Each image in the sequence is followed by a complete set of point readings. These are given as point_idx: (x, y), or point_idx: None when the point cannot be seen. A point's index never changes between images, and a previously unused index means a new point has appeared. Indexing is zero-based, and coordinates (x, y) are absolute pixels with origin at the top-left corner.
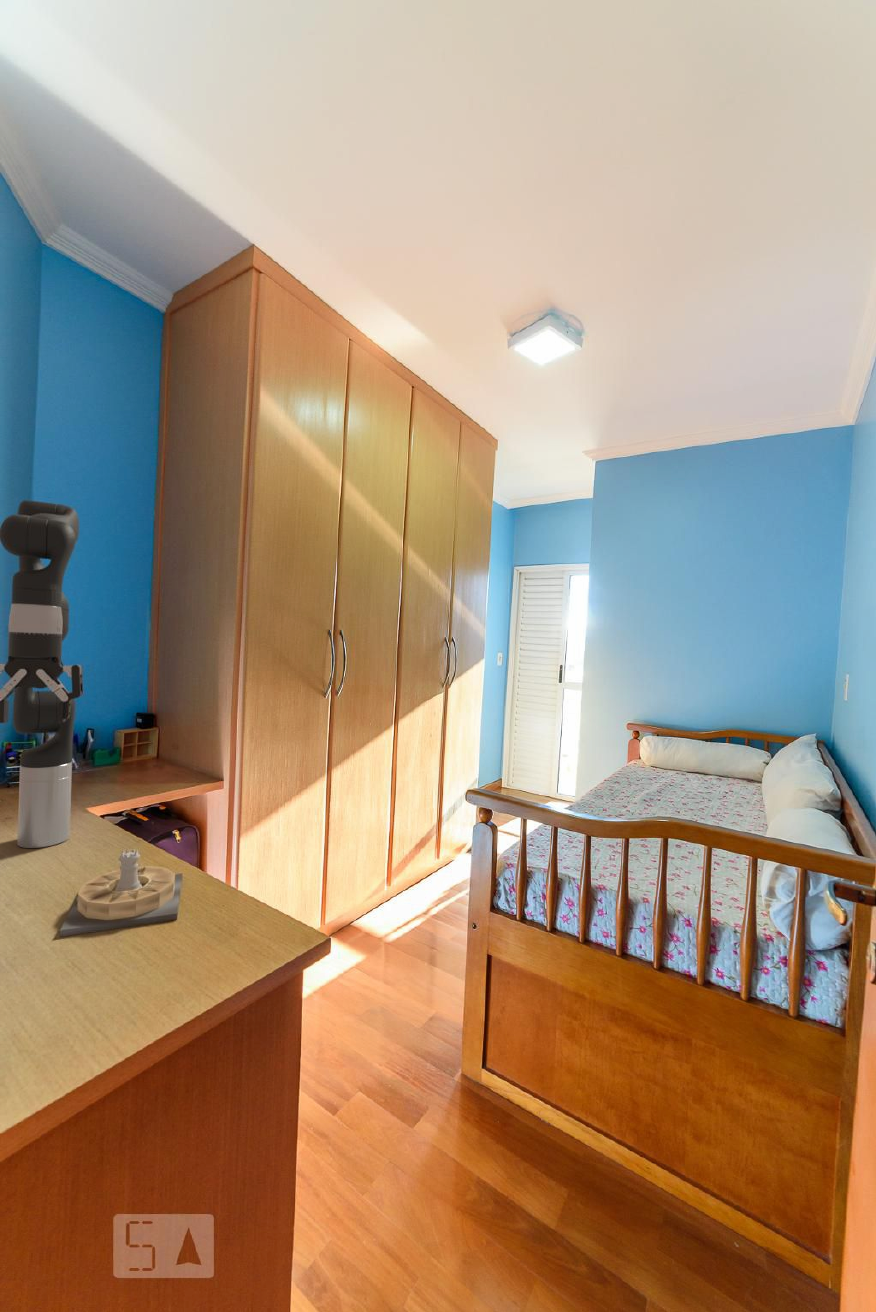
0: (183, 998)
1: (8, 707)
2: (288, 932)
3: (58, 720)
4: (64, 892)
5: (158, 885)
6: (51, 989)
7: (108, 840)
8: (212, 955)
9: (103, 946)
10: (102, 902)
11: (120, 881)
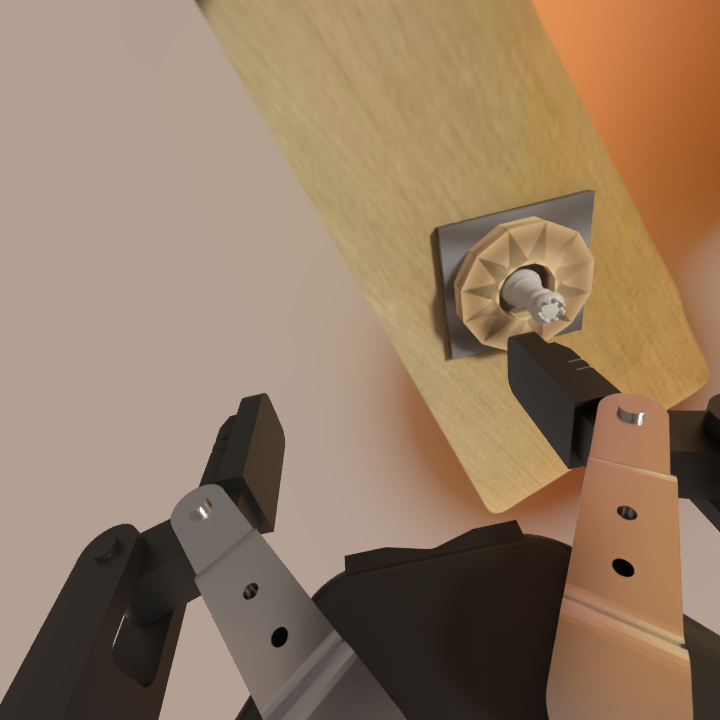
0: None
1: (251, 444)
2: (692, 359)
3: (513, 393)
4: (408, 231)
5: (569, 302)
6: (474, 430)
7: None
8: None
9: (502, 374)
10: (501, 346)
11: (519, 303)
